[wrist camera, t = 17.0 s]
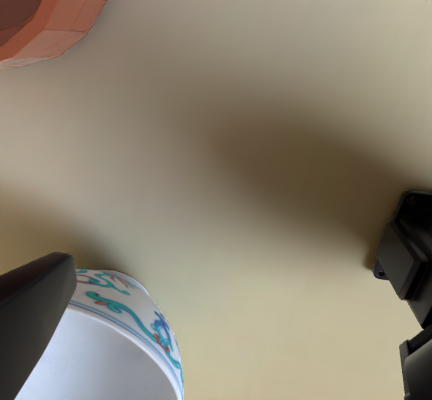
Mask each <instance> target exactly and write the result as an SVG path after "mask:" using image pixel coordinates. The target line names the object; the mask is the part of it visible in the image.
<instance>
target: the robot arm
mask: <svg viewBox="0 0 432 400" xmlns="http://www.w3.org/2000/svg"><path fill="white" fill-rule="evenodd" d="M412 196H414V198H413V200H411V201H408V199H409V198H410V197H412ZM376 256H377V258H376V260H375V263H374V265H373V268H372V272H373V274H374V276H375V277H376V278H378V279H383V280H389V281H390V282H391V284H392V286H393V288H394V290H395V292H396V294H397V295H398V297H399V298H400V299H401V300H405V301H407V302H408V304H409V306H410V308H411V309H412V311H413V313H414V315H415V317H416V318H417V320H418V322H419V324H420V325H421V327H422V329H424V330H423V331H421V332H420V333H419V334H417V335H416V336H415V337H413V338H412V339H411V340H406V341H404V342H403V343H402V344H401V345H399V349H400V357H401V366H402V374H403V382H404V391H405V397H404V400H432V192H426V191H418V190H407V191H405V192H404V193H403V194H402V195H401V197H400V200H399V202H398V205H397V207H396V210H395V212H394V215H393V217H392V220H391V221H389V222H388V223H387V225H386V228H385V230H384V233H383V235H382V238H381V241H380V243H379V246H378V248H377V251H376ZM380 270H383V271H382V272H379V271H380ZM76 286H77V276H76V269H75V263H74V258H73V256H72V255H71V254H68V253H61V252H53V253H50V254H48V255H46V256H43V257H41V258H39V259H37V260H34V261H32V262H30V263H28V264H25V265H23V266H21V267H19V268H16V269H14V270H12V271H9V272H7V273H5V274H3V275H0V400H15V398H16V397H17V395H18V393H19V392H20V390H21V389H22V387H23V385H24V384H25V382H26V381H27V379H28V377H29V376H30V374H31V373H32V371H33V369H34V368H35V366H36V365H37V363H38V362H39V360H40V358H41V357H42V355H43V353H44V352H45V350H46V348H47V346H48V344H49V342H50V340H51V338H52V336H53V334H54V332H55V330H56V328H57V326H58V324H59V322H60V320H61V318H62V316H63V314H64V312H65V310H66V308H67V306H68V304H69V302H70V300H71V298H72V296H73V294H74V292H75V290H76Z"/></svg>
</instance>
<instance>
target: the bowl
mask: <svg viewBox="0 0 432 400" xmlns="http://www.w3.org/2000/svg"><path fill="white" fill-rule="evenodd" d="M105 2H106V0H0V68H5V67H16V66H26V65H30V64H34V63H37V62H41V61H44V60H48V59H51V58H55V57H58V56H60V55H62V54H63V53H64V52H65V51H66V50H68V49H69V48H70V47H71V46H73V45H74V44H75V43H76V42H77V41H79V40H80V39H81V38H82V37H84V36H85V35H86V34H87V33H88V31H90V29H91V27H92V25H93V23H94V22H95V20H96V18H97V16H98V15H99V13H100V11H101V9H102V7H103V6H104V4H105Z"/></svg>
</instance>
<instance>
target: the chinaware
mask: <svg viewBox="0 0 432 400" xmlns="http://www.w3.org/2000/svg"><path fill="white" fill-rule="evenodd" d="M76 276H77V286H76V290H75V292H74V294H73V296H72V298H71V300H70V302H69V304H68V306H67V308H66V310H65V312H64V314H63V316H62V318H61V320H60V322H59V324H58V326H57V328H56V330H55V332H54V334H53V336H52V338H51V340H50V342H49V344H48V346H47V348H46V350H45V352H44V353H43V355H42V357H41V358H40V360H39V362H38V363H37V365H36V366H35V368H34V369H33V371H32V373H31V374H30V376H29V377H28V379H27V381H26V382H25V384H24V385H23V387H22V389H21V390H20V392H19V393H18V395H17V397H16V398H15V400H183V371H182V363H181V357H180V352H179V348H178V344H177V341H176V338H175V335H174V332H173V330H172V328H171V326H170V324H169V322H168V320H167V318H166V317H165V315H164V313H163V312H162V311H161V309H160V308H159V307H158V305H157V304H156V303H155V302H154V301H153V300H152V299H151V297H150V295H149V293H148V292H147V290H146V289H145V288H144V287H143V286H142V285H141V284H140V283H139V282H138V281H136V280H135V279H133V278H132V277H130V276H128V275H126V274H123V273H121V272H117V271H113V270H91V269H76Z"/></svg>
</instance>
